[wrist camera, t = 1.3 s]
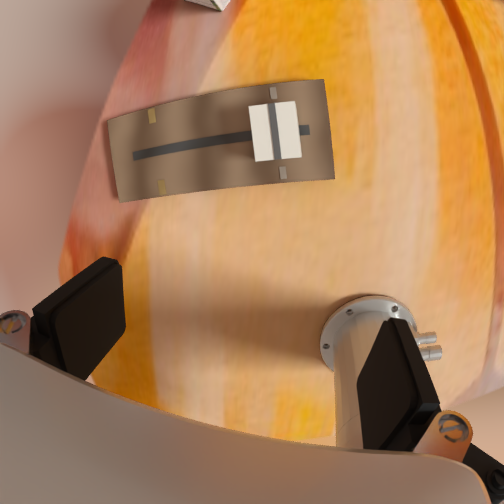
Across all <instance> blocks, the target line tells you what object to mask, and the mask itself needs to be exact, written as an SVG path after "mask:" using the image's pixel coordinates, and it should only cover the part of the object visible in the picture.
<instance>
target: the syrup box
mask: <svg viewBox="0 0 504 504" xmlns="http://www.w3.org/2000/svg"><path fill="white" fill-rule="evenodd" d="M185 1H189V2H193V3H196V4H200V5H203V6H206V7H210V8H213V9H216V10H219V11H223V10H224V9H225V7H226V6H227V5H228V3H229V2H230V0H185Z"/></svg>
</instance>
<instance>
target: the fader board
mask: <svg viewBox="0 0 504 504" xmlns="http://www.w3.org/2000/svg"><path fill="white" fill-rule="evenodd" d="M290 101H295V104H296V109H297V117H298V126H299V134H300V143H301V152H302V157H299V158H287V159H277V160H266V161H257V162H255V154H254V146H253V138H252V130H251V122H250V114H249V106H255V105H263V104H270V103H280V102H290ZM107 124H108V132H109V140H110V147H111V155H112V161H113V168H114V174H115V180H116V186H117V191H118V197H119V202H120V203H123V202H129V201H136V200H142V199H149V198H155V197H162V196H169V195H176V194H184V193H191V192H199V191H207V190H216V189H225V188H234V187H243V186H253V185H264V184H275V183H287V182H300V181H314V180H330V179H335V173H334V161H333V150H332V140H331V131H330V122H329V114H328V106H327V98H326V91H325V84H324V79H318V80H304V81H293V82H283V83H274V84H266V85H258V86H251V87H244V88H238V89H232V90H226V91H221V92H215V93H210V94H205V95H200V96H195V97H191V98H186V99H182V100H178V101H173V102H169V103H165V104H161V105H158V106H154V107H150V108H146V109H143V110H139V111H136V112H132V113H129V114H126V115H123V116H119V117H116V118H113V119H110V120H107Z"/></svg>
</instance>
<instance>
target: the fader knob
mask: <svg viewBox="0 0 504 504" xmlns="http://www.w3.org/2000/svg"><path fill="white" fill-rule="evenodd" d="M249 114H250V122H251V130H252V138H253V146H254V154H255V162H257V161H266V160H277V159H287V158H299V157H302V152H301V143H300V134H299V126H298V117H297V109H296V104H295V101H290V102H280V103H270V104H263V105H255V106H249Z"/></svg>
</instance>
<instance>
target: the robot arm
mask: <svg viewBox="0 0 504 504" xmlns="http://www.w3.org/2000/svg"><path fill="white" fill-rule="evenodd" d="M393 306H394V307H393ZM348 309H350V310H348ZM32 310H33V314H34V316H33V317H31V318H30V317H29V315H28V314H27V313H25V312H23V311H19V310H13V311H8V312H5V313H3V314H1V315H0V504H504V465H502V464H501V463H499V462H498V461H497V460H495V459H494V458H492V457H491V456H489V455H488V454H486V453H485V452H483V451H482V450H481V449H479V448H478V447H476V446H475V445H473V444H472V443H470V442H471V440H472V436H473V430H472V427H471V425H470V423H469V421H468V420H467V419H466V418H465V417H464V416H463V415H461V414H460V413H457V412H455V411H450V410H446V411H441V408H440V406H439V404H440V401H439V399H438V396H437V393H436V391H435V388H434V385H433V383H432V380H431V377H430V375H429V372H428V370H427V367H426V365H425V362H424V361H434V360H440V359H441V357H442V348H441V346H440V345H435V346H428V347H425V348H419V347H418V346H419V344H429V343H435V342H436V338H437V337H436V332H428V333H424V334H419V333H418V332H417V326H416V322H415V320H414V317H413V315H412V314H411V312H410V311H409V309H408V308H407V307H406V306H405V305H404V304H402V303H401V302H399V301H397V300H396V299H393V298H390V297H386V296H377V295H376V296H366V297H361V298H357V299H355V300H353V301H350V302H348V303H346V304H345V305H343V306H341V307H340V308H339V309H337V310H336V311H335V312H334V313H333V314H332V315H331V316H330V318H329V319H328V320H327V321H326V323H325V325H324V327H323V329H322V333H321V336H320V352H321V355H322V358H323V360H324V362H325V364H326V365H327V366H328V367H329V368H330V369H331V370H332V371H333V372H334V385H335V415H336V447H334V446H325V445H316V444H308V443H301V442H294V441H287V440H281V439H275V438H270V437H264V436H259V435H254V434H249V433H244V432H240V431H235V430H231V429H227V428H222V427H218V426H214V425H210V424H207V423H203V422H199V421H195V420H192V419H188V418H185V417H182V416H178V415H175V414H172V413H169V412H165V411H162V410H159V409H156V408H153V407H150V406H147V405H145V404H142V403H139V402H136V401H133V400H131V399H128V398H125V397H123V396H120V395H118V394H115V393H112V392H110V391H107V390H105V389H103V388H100V387H98V386H95V385H93V384H91V383H89V382H86V381H85V380H86V379H87V378H88V376H89V375H90V374H91V373H92V371H93V370H94V369H95V368H96V366H97V365H98V364H99V363H100V362H101V360H102V359H103V358H104V357H105V355H106V354H107V353H108V352H109V350H110V349H111V348H112V347H113V346H114V344H115V343H116V342H117V341H118V340H119V338H120V337H121V336H122V335H123V333H124V331H125V327H126V323H125V310H124V296H123V277H122V266H121V265H119V263H118V261H117V260H115V259H111V258H107V257H101V258H100V259H98V260H97V261H95V262H94V263H93V264H91V265H90V266H88V267H87V268H86V269H84V270H83V271H81V272H80V273H79V274H77V275H76V276H74V277H73V278H72V279H70V280H69V281H68V282H66V283H65V284H64V285H62V286H61V287H60V288H58V289H57V290H56V291H54V292H53V293H52V294H51V295H49V296H48V297H47V298H45V299H44V300H43V301H41V302H40V303H39V304H37V305H36V306H35V307H34V308H33V309H32Z"/></svg>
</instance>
